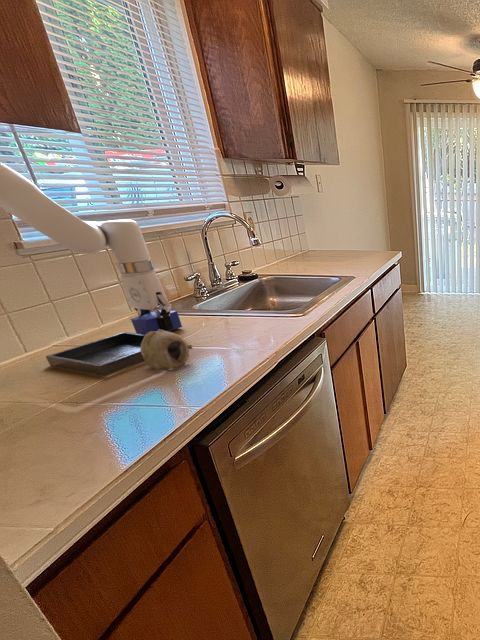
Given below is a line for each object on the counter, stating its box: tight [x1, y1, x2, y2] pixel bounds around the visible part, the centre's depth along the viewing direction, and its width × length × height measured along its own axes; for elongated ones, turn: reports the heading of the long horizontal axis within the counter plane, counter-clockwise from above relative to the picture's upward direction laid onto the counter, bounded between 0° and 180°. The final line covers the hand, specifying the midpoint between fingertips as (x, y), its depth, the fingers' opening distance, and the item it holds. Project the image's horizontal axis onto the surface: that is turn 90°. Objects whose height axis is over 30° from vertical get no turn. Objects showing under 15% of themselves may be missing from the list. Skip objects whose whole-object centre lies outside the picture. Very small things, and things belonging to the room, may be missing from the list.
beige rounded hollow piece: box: [141, 329, 194, 371], centre depth 96 cm, size 9×8×10 cm
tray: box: [45, 331, 145, 377], centre depth 101 cm, size 20×18×3 cm
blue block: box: [130, 309, 183, 335], centre depth 116 cm, size 6×9×5 cm, turn 162°
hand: (159, 328), depth 117 cm, fingers closed on blue block, 6 cm apart
